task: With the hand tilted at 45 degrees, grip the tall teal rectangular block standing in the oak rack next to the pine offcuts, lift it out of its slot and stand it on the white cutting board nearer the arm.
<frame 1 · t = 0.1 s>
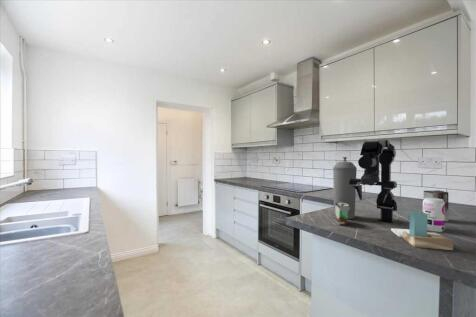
hand: (371, 201, 108), 15 cm above the countertop, tool pointing down, fingers open, 9 cm apart
teal rectangular block: (417, 242, 96), resting in oak rack
offcut top: (434, 240, 94), point 2 cm above the countertop, touching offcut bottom
canister: (344, 217, 134), on the countertop
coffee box: (435, 220, 128), on the countertop
oak rack: (417, 242, 96), on the countertop
food container: (343, 223, 123), on the countertop
white pad: (406, 234, 105), on the countertop
supplement can: (433, 229, 112), on the countertop
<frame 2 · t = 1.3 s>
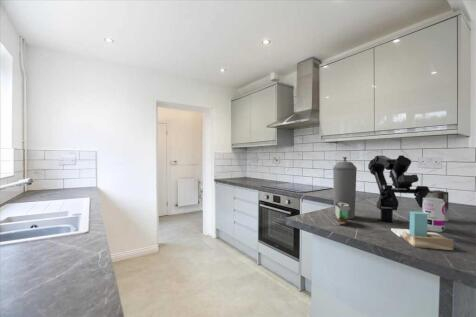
hand: (409, 206, 103), 13 cm above the countertop, tool tilted 45°, fingers open, 9 cm apart
nothing on the countertop moved.
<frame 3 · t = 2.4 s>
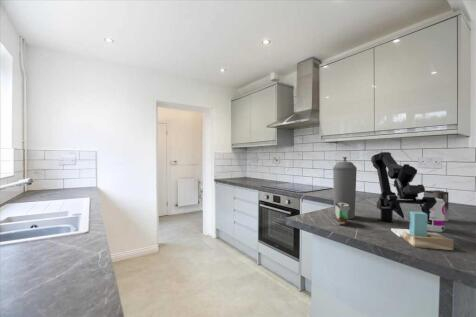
hand: (415, 218, 97), 9 cm above the countertop, tool tilted 45°, fingers open, 9 cm apart
offcut top: (434, 240, 94), point 1 cm above the countertop, touching oak rack, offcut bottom
everything else where it was.
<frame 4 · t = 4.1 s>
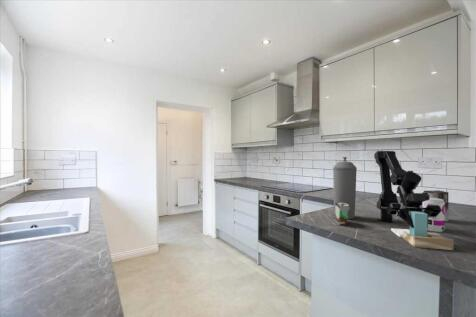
hand: (420, 227, 94), 7 cm above the countertop, tool tilted 45°, fingers closed on teal rectangular block, 4 cm apart
teal rectangular block: (417, 242, 96), resting in oak rack, touching gripper
offcut top: (434, 240, 94), point 2 cm above the countertop, touching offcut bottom
everything else where it was.
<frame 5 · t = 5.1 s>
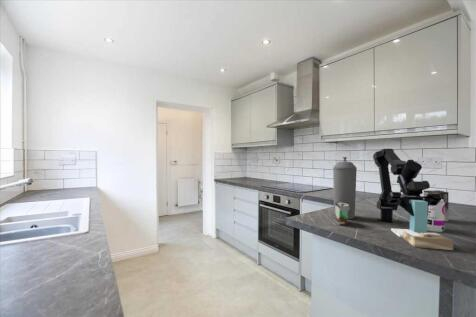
hand: (420, 215, 94), 11 cm above the countertop, tool tilted 45°, fingers closed on teal rectangular block, 4 cm apart
teal rectangular block: (418, 230, 96), point 5 cm above the countertop, touching gripper
everything else where it was.
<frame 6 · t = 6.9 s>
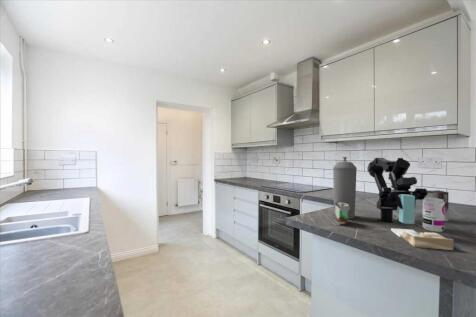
hand: (408, 208, 104), 12 cm above the countertop, tool tilted 45°, fingers closed on teal rectangular block, 4 cm apart
teal rectangular block: (406, 222, 105), point 6 cm above the countertop, touching gripper
everything else where it was.
when the fingers open (9 cm above the countertop, at t = 7.9 s): teal rectangular block drops 1 cm, resting on white pad.
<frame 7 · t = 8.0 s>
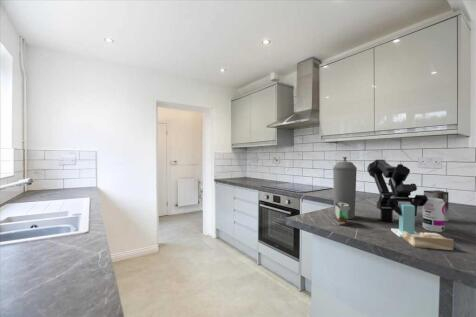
hand: (408, 215, 104), 9 cm above the countertop, tool tilted 45°, fingers open, 6 cm apart
teal rectangular block: (406, 232, 105), point 1 cm above the countertop, touching white pad
offcut top: (434, 240, 94), point 1 cm above the countertop
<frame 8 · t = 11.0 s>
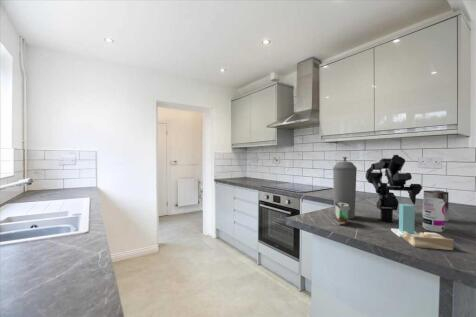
hand: (403, 203, 109), 14 cm above the countertop, tool tilted 45°, fingers open, 9 cm apart
nothing on the countertop moved.
at the end: teal rectangular block 0.0 cm off-centre on the white pad, point 1.0 cm above the white pad's base; teal rectangular block tilted 0°; offcut top moved 0.6 cm from its start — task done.
